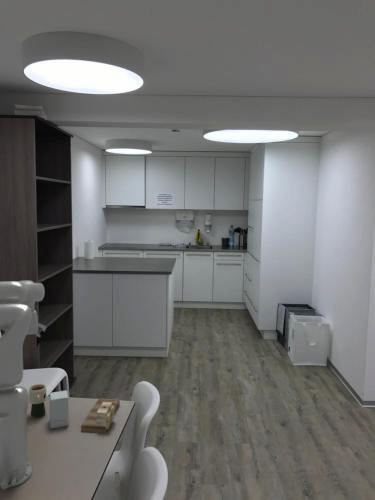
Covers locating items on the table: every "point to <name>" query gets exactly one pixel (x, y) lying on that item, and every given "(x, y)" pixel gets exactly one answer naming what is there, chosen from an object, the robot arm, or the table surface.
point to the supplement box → (58, 409)
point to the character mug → (37, 399)
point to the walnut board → (90, 420)
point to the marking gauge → (105, 415)
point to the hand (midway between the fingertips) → (26, 346)
